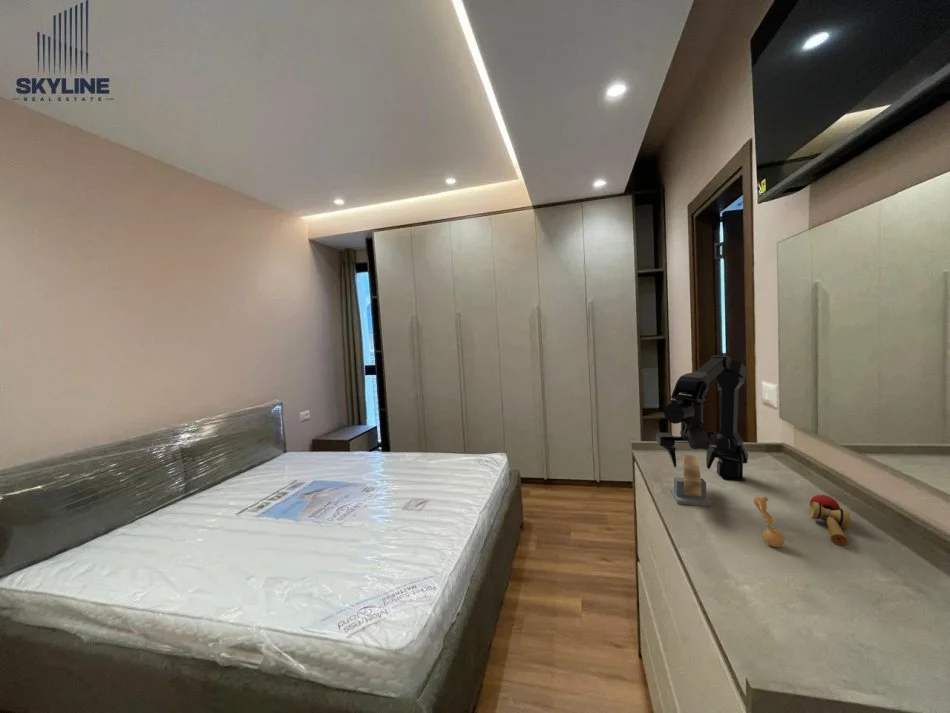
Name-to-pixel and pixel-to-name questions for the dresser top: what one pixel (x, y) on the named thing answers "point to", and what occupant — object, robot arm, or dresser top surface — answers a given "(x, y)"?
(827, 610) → the dresser top surface
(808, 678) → the dresser top surface
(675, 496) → the grey stepped block
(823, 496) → the kendama
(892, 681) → the dresser top surface
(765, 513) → the figurine
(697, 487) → the plank
